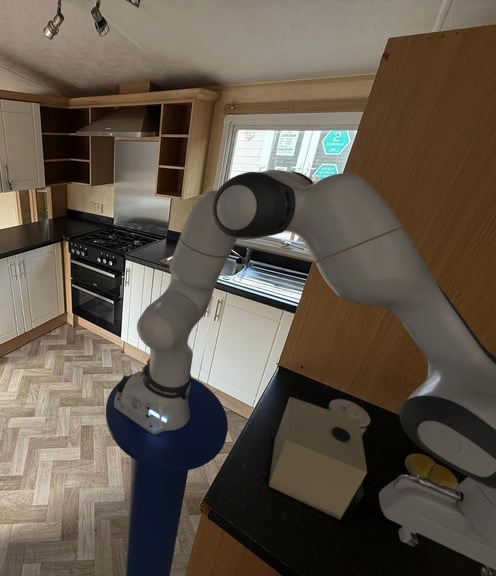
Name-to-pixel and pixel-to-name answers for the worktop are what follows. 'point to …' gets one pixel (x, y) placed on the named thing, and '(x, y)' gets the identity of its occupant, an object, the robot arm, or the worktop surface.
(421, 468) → the bread roll
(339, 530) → the worktop surface
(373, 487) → the door with handle
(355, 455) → the cube with dark spot
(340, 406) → the enamel mug with lid
